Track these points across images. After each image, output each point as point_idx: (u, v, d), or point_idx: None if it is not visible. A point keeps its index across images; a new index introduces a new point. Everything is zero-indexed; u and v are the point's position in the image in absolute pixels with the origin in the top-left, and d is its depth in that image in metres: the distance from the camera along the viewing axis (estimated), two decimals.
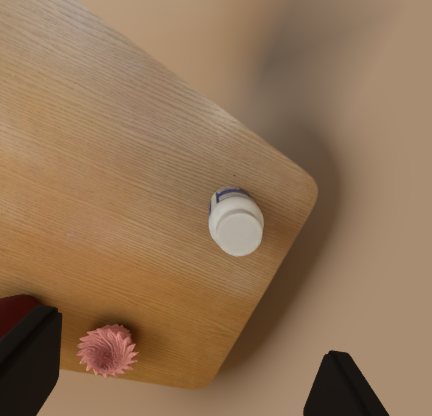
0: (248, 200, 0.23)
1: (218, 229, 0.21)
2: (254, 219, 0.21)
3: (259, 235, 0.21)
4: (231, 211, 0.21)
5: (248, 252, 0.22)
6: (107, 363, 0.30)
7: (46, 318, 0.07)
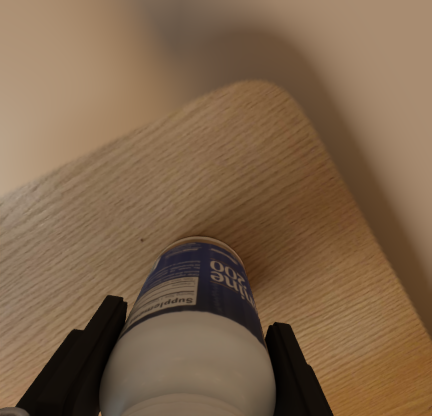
0: (132, 339, 0.07)
1: None
2: None
3: None
4: None
5: None
6: None
7: (118, 306, 0.09)
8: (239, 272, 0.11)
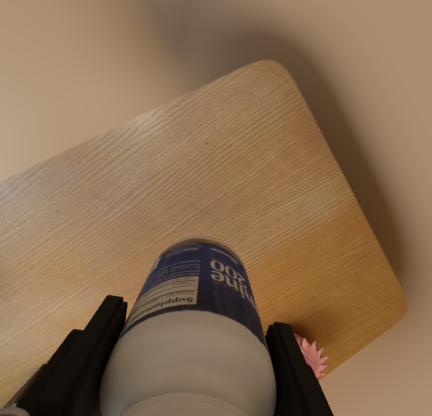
0: (133, 338, 0.07)
1: None
2: None
3: None
4: None
5: None
6: None
7: (118, 306, 0.09)
8: (239, 272, 0.11)
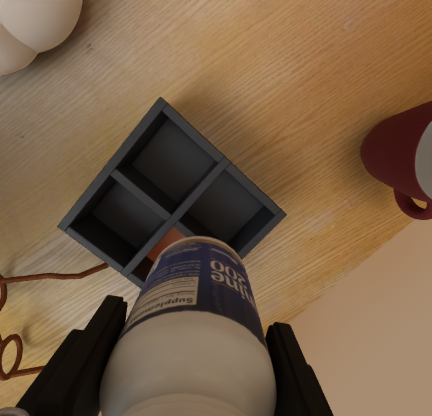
0: (132, 339, 0.07)
1: None
2: None
3: None
4: None
5: None
6: None
7: (118, 306, 0.09)
8: (239, 272, 0.11)
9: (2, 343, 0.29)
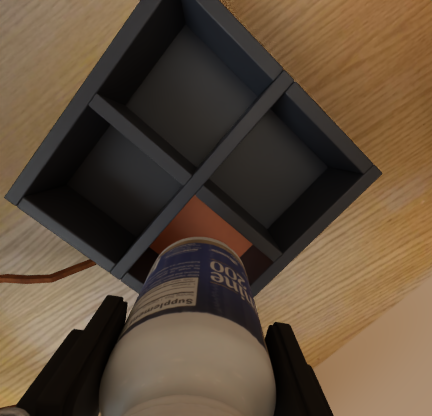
0: (132, 340, 0.07)
1: None
2: None
3: None
4: None
5: None
6: None
7: (118, 306, 0.09)
8: (239, 273, 0.11)
9: None
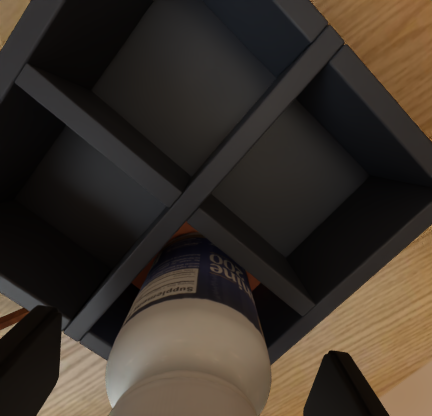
0: (136, 324, 0.07)
1: None
2: None
3: None
4: None
5: None
6: None
7: (46, 318, 0.07)
8: (237, 265, 0.12)
9: None
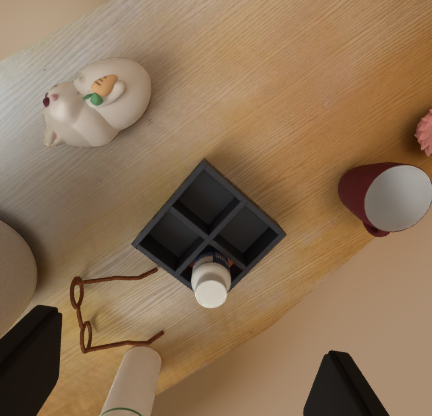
0: (199, 267, 0.33)
1: (200, 303, 0.31)
2: (206, 282, 0.30)
3: (218, 284, 0.30)
4: (195, 288, 0.31)
5: (225, 295, 0.31)
6: None
7: (46, 318, 0.07)
8: None
9: (83, 326, 0.40)
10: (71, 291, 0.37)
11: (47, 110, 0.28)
